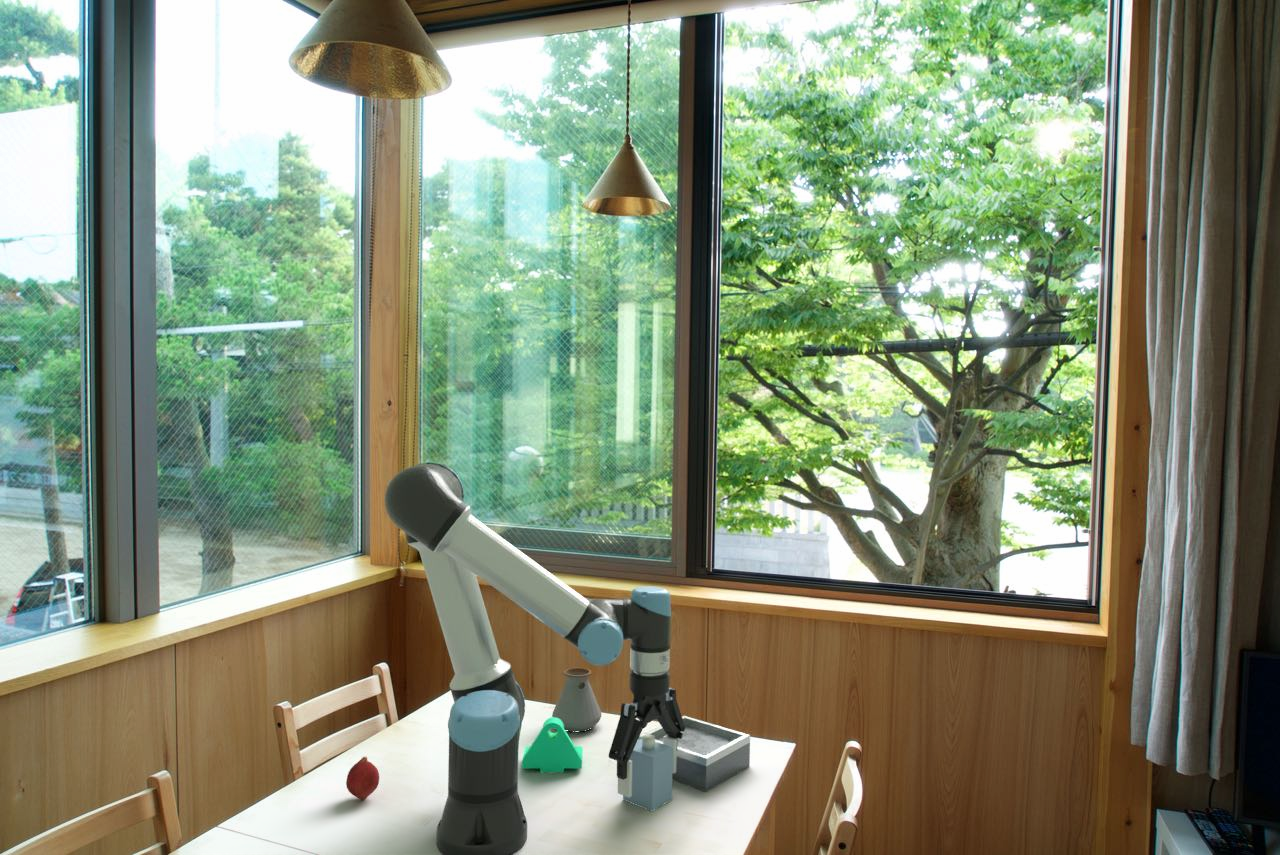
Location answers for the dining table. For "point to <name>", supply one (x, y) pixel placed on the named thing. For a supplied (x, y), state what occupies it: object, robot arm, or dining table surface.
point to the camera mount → (552, 749)
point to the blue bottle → (651, 773)
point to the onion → (362, 779)
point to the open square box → (707, 753)
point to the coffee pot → (577, 702)
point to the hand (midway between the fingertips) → (647, 782)
